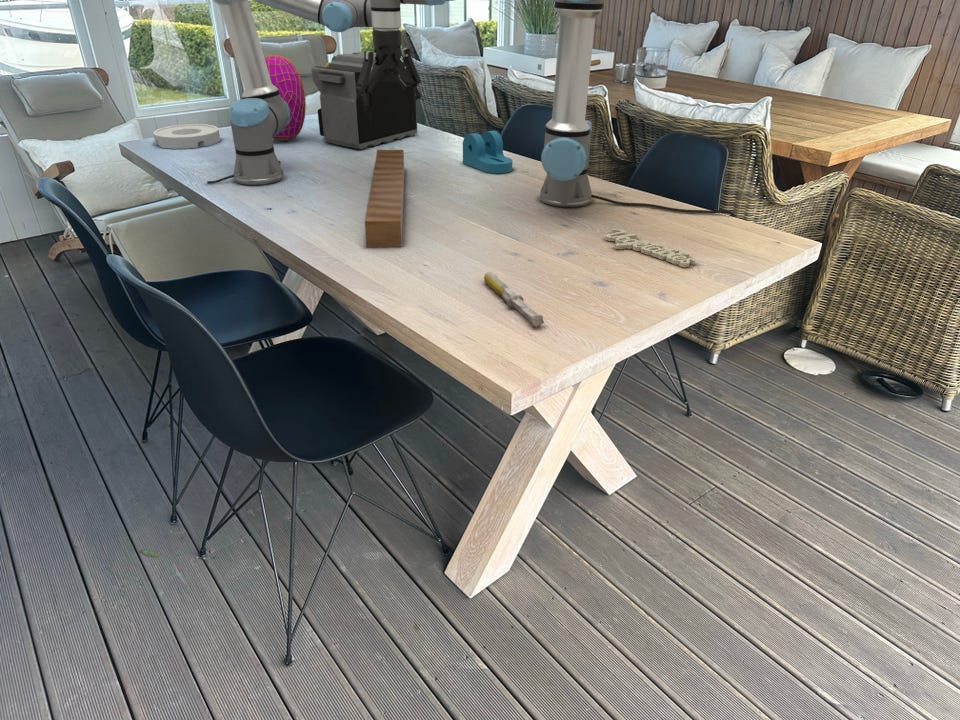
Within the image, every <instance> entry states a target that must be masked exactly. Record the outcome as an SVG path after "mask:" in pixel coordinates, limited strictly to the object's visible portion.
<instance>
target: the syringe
mask: <svg viewBox="0 0 960 720" xmlns="http://www.w3.org/2000/svg"><path fill="white" fill-rule="evenodd" d="M483 279H484V283H485V284H486V285H487V286H489V287H490V289H492V290H493V291H494V292H495V293H496V294H497V295H498V296H499V297H500V298H502V300H503V301H505V303H506V306H507V308H509V309H512V308H514V309H516V310H517V311H518V313H520V314H521V315H522V316H523V317H524V318H526V320H528V322H530V323H531V324H532V327H533V328H538V327H540V326H541V325H543V324H545V320H544V317H543V315H542V314H537V312H535V310H534V309H533V308H532V307H531V306H528V304H526V303H525V302H524V297H523V296H522V295H521V294H517V293H516V292H515V291H513V289H511V288H510V287H509V286H508V285H506V283H504V282H503V281H502V280H501V279H499V278H498V276H497V275H496V274H495V273H494V272H492V271H489V272H486V273H484V276H483Z"/></svg>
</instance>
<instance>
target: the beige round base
mask: <svg viewBox="0 0 960 720" xmlns="http://www.w3.org/2000/svg"><path fill="white" fill-rule="evenodd" d="M152 135H153V139H154V143H155V146H158V147H160V148H163V149H173V150H183V149H185V150H186V149H197V148H199V147H208V146H212V145H214V144H215V145H216V144H217V143H219V142H220V141H221V136H220V129H219V127H218V126H216V125H212V124H204V123H186V124H175V125H168V126H163V127H160V128H158V129H155V130H154V131H153V132H152Z"/></svg>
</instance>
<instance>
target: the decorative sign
mask: <svg viewBox="0 0 960 720" xmlns="http://www.w3.org/2000/svg"><path fill="white" fill-rule="evenodd" d="M611 230H612V231H611V233H608V234H606V236H605V240H606V241H608V242H614V243H615V244H614V249H615V250H623V249H624V250H625V249H628V250H631V249H632V250H633V251H637V252H640V253H642V254H645V255H649V256H651V257H653V258H658V259H659V260H665V262H666V263H671V264H673V265H678V266H679V267H681V268H689V267H690V264H691V265H693V266H695V265H696V258H692V257H690V253H689V252H687V251H685V252H683V251H682V252H680V249H679V248H672V249H665V248H664V246H663V245H661V244H660V243H654V242H652V241H649V242H643V241H641V240H638V234H637V233H628V234H626V231H625V230H623V229H619V228H612V229H611Z"/></svg>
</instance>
